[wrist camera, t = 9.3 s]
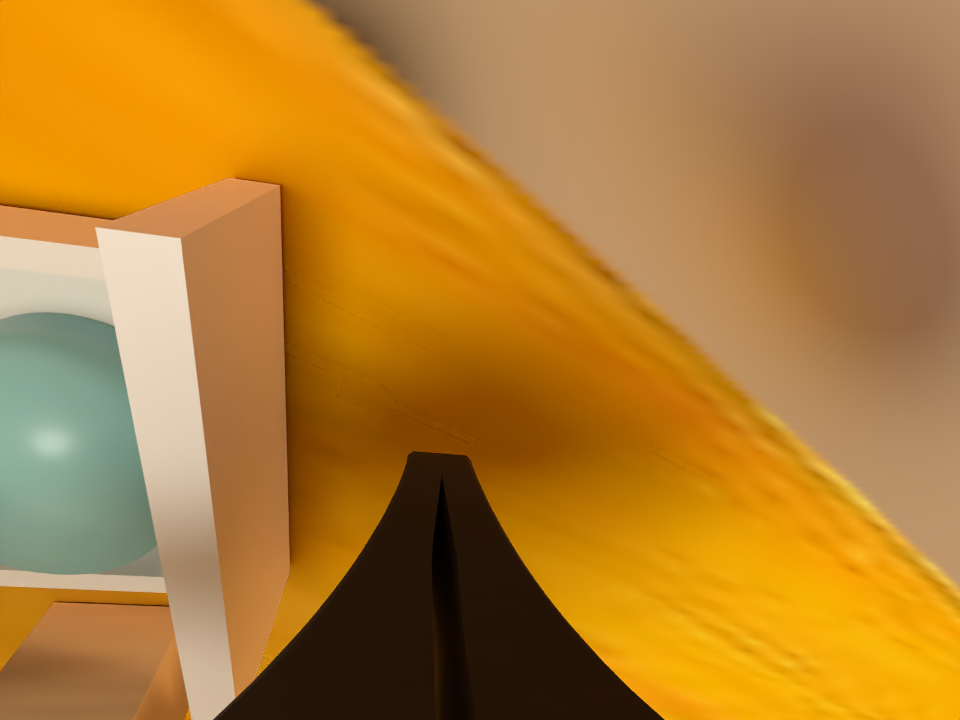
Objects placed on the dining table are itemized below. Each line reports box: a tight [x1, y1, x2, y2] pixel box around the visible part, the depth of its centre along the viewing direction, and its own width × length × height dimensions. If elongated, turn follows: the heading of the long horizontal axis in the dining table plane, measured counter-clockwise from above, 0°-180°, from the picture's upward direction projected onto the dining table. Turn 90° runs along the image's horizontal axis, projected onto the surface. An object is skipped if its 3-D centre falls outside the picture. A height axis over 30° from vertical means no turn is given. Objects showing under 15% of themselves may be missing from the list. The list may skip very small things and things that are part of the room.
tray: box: [0, 178, 290, 720], centre depth 10 cm, size 12×9×4 cm
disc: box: [0, 312, 157, 575], centre depth 11 cm, size 6×6×2 cm
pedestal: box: [0, 602, 189, 720], centre depth 15 cm, size 4×4×4 cm
